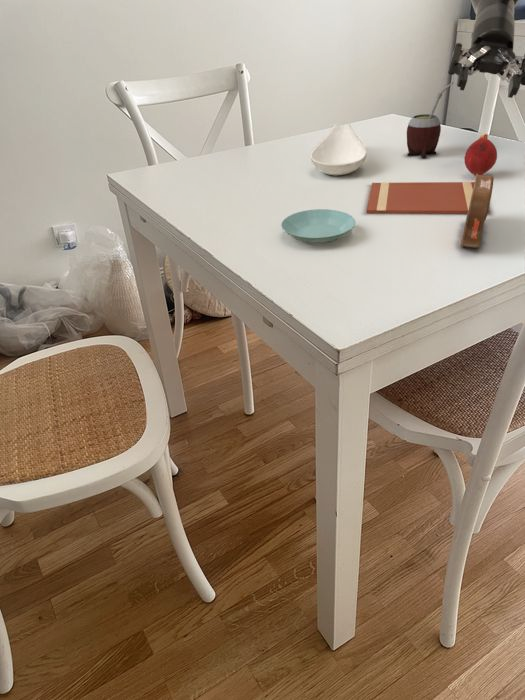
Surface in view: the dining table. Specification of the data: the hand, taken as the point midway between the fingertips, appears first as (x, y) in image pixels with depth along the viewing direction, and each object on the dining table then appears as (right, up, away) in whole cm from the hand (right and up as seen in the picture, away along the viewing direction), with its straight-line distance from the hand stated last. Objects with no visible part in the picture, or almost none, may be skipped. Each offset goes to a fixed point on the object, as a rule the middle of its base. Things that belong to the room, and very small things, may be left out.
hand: (487, 89), depth 96 cm
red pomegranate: (+2, -13, +9) cm, 16 cm away
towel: (-11, -19, +2) cm, 22 cm away
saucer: (-31, -28, -8) cm, 43 cm away
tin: (-8, -29, -13) cm, 33 cm away
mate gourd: (-4, -3, +24) cm, 25 cm away
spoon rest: (-23, -5, +24) cm, 33 cm away
